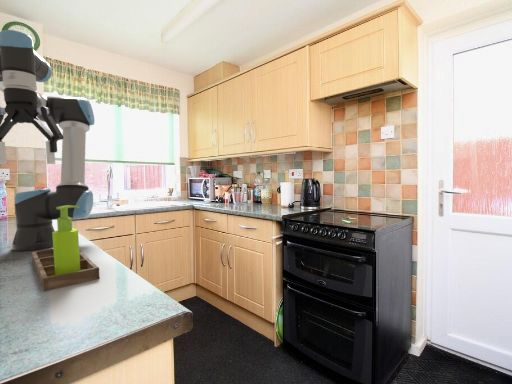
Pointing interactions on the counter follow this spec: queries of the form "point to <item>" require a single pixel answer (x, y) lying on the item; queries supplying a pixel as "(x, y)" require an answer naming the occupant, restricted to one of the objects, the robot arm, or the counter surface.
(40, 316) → the counter surface
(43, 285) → the pocket rack
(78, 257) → the soap dispenser
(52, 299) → the counter surface
